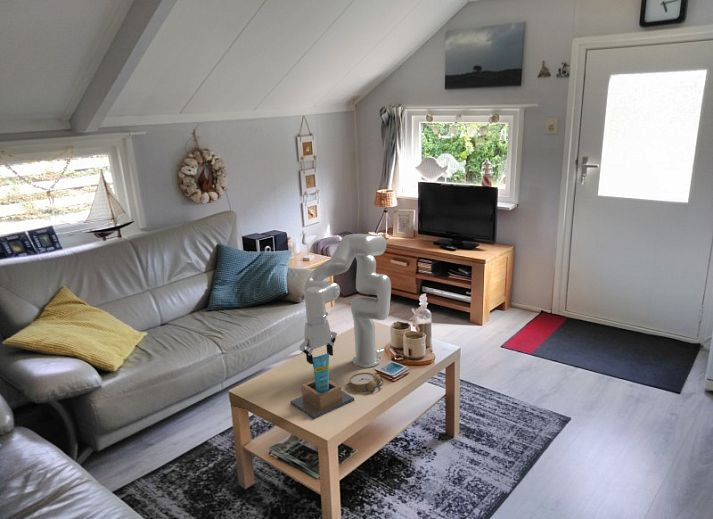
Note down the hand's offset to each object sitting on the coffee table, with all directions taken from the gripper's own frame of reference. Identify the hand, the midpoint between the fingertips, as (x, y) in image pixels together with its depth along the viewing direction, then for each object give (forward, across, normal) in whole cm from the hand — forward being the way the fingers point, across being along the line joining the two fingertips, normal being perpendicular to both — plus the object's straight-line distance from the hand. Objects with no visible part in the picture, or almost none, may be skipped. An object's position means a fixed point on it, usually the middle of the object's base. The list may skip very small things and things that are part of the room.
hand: (320, 358), depth 218 cm
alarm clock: (+20, -20, +3) cm, 29 cm away
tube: (+18, 0, 0) cm, 18 cm away
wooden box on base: (+19, +1, 0) cm, 19 cm away
